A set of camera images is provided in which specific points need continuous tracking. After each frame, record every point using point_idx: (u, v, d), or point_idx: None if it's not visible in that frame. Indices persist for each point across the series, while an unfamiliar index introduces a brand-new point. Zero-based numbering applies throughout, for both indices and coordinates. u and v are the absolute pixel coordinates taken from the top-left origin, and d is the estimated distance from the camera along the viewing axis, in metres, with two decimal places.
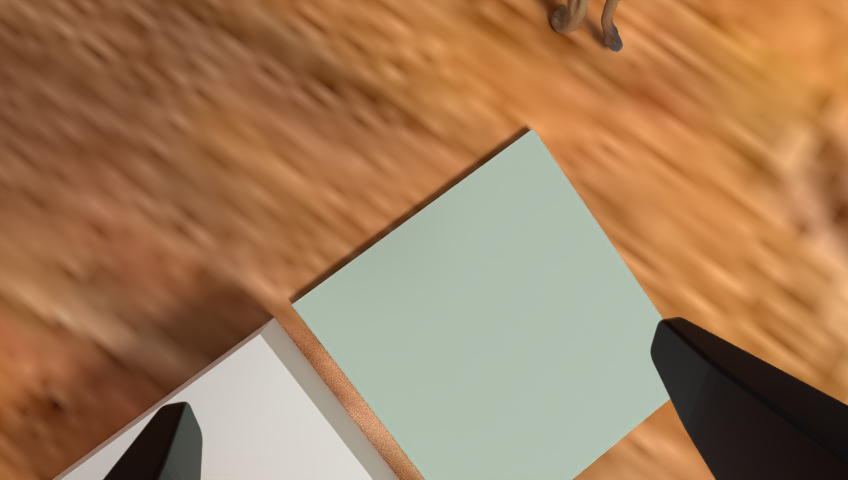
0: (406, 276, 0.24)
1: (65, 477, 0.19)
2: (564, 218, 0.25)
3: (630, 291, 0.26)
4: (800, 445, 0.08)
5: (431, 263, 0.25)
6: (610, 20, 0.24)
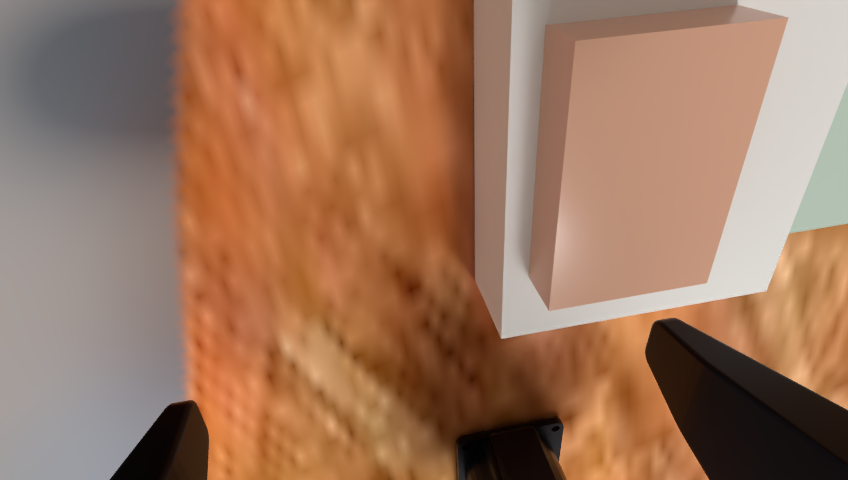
0: None
1: None
2: None
3: None
4: (793, 447, 0.08)
5: None
6: None
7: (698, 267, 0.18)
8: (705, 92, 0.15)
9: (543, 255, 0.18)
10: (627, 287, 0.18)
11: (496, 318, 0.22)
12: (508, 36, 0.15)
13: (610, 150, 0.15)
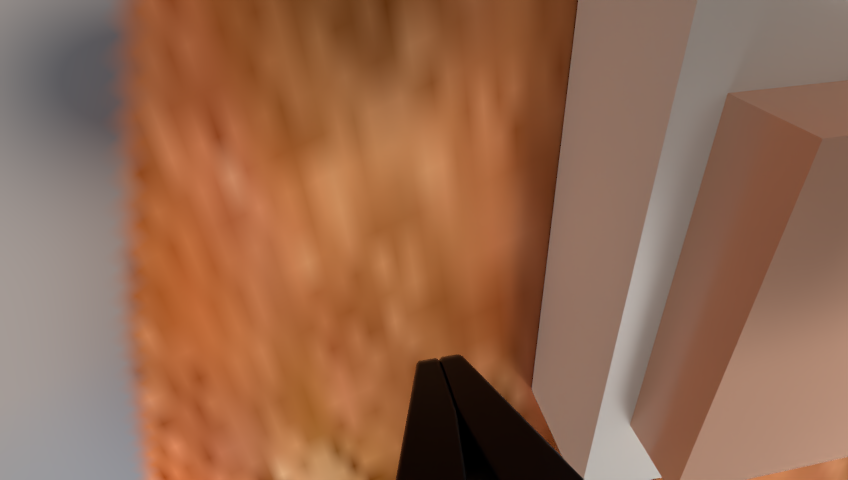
0: None
1: None
2: None
3: None
4: None
5: None
6: None
7: None
8: None
9: (670, 418, 0.12)
10: (787, 460, 0.13)
11: (572, 464, 0.16)
12: (662, 109, 0.09)
13: (822, 298, 0.09)
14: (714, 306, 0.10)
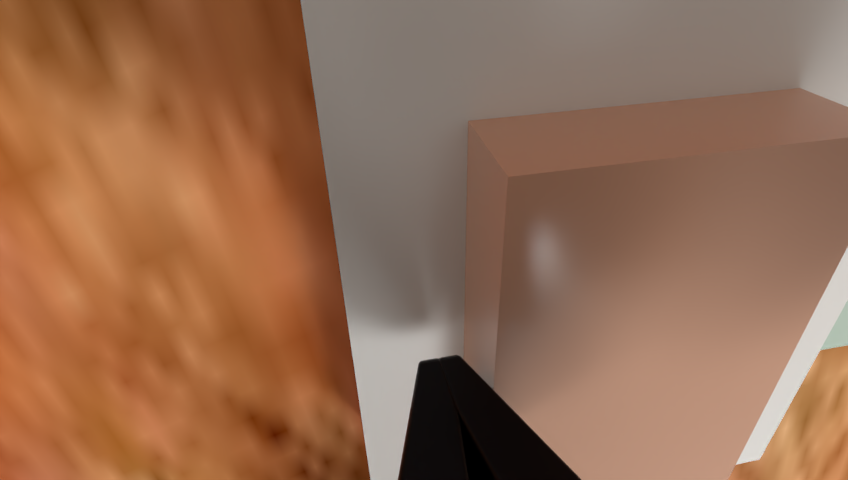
0: None
1: None
2: None
3: None
4: None
5: None
6: None
7: (714, 469, 0.12)
8: (747, 249, 0.08)
9: None
10: None
11: None
12: (322, 148, 0.08)
13: (578, 339, 0.09)
14: (482, 345, 0.09)
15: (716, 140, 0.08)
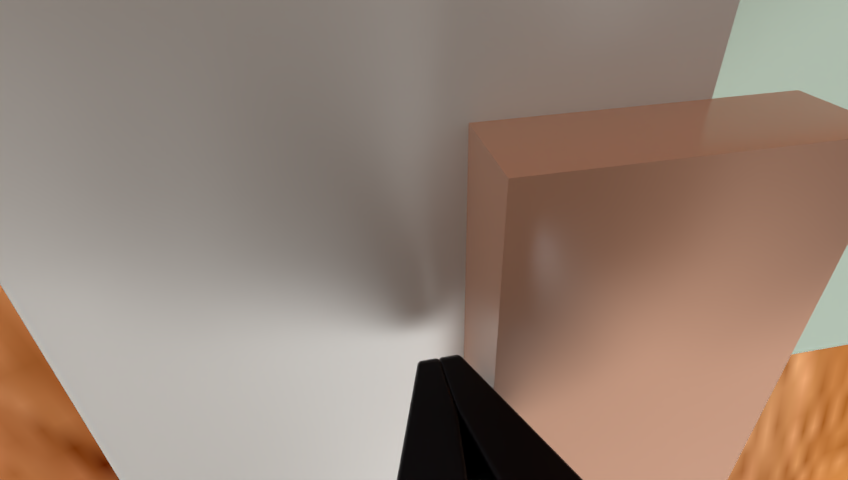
0: None
1: None
2: None
3: None
4: None
5: None
6: None
7: (713, 470, 0.12)
8: (745, 251, 0.08)
9: None
10: None
11: None
12: None
13: (578, 340, 0.09)
14: (482, 345, 0.09)
15: (715, 142, 0.08)
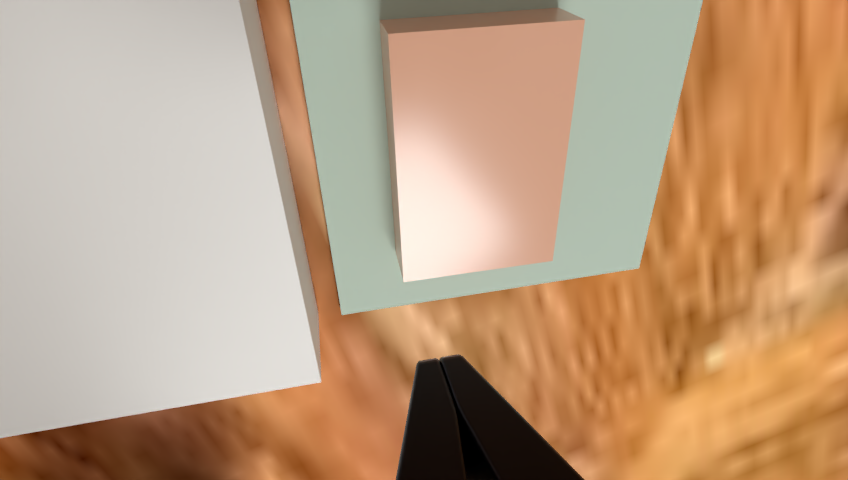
0: None
1: None
2: (663, 35, 0.19)
3: (652, 159, 0.22)
4: None
5: None
6: None
7: None
8: None
9: None
10: None
11: None
12: None
13: None
14: None
15: (467, 16, 0.17)
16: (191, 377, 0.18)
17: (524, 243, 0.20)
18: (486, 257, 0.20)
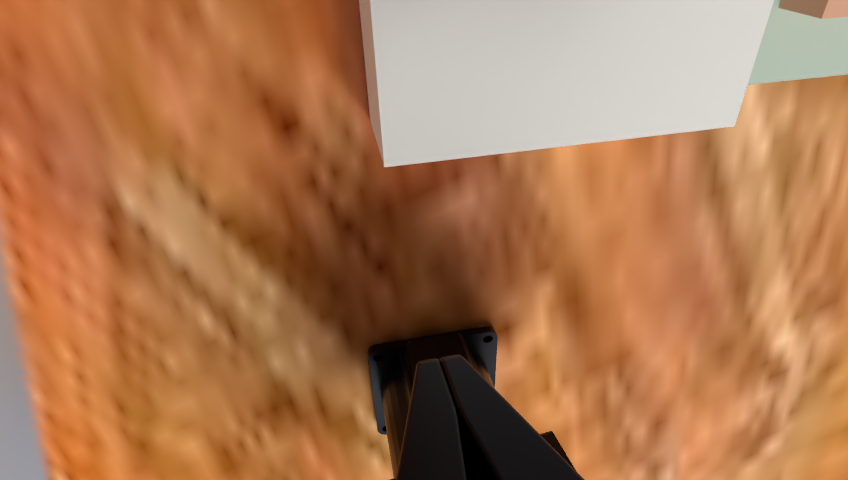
0: None
1: None
2: None
3: None
4: None
5: None
6: None
7: None
8: None
9: None
10: None
11: (380, 142, 0.16)
12: None
13: None
14: None
15: None
16: (623, 99, 0.16)
17: None
18: None
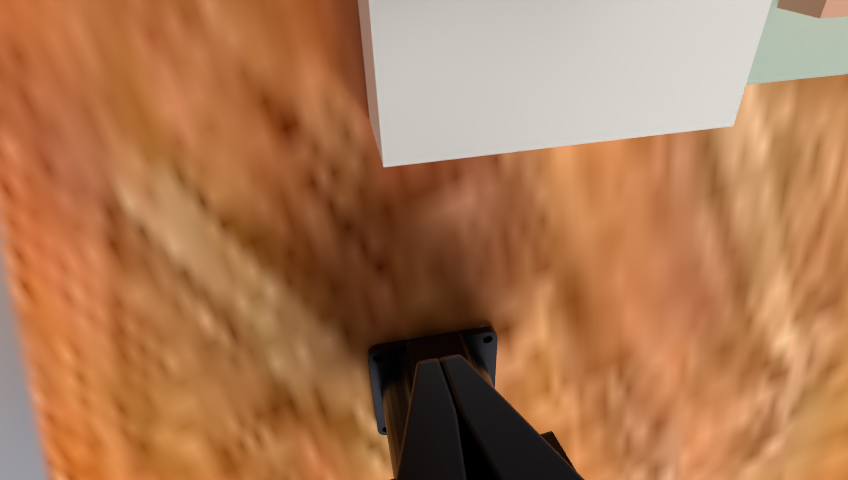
0: None
1: None
2: None
3: None
4: None
5: None
6: None
7: None
8: None
9: None
10: None
11: (379, 143, 0.16)
12: None
13: None
14: None
15: None
16: (622, 99, 0.17)
17: None
18: None
